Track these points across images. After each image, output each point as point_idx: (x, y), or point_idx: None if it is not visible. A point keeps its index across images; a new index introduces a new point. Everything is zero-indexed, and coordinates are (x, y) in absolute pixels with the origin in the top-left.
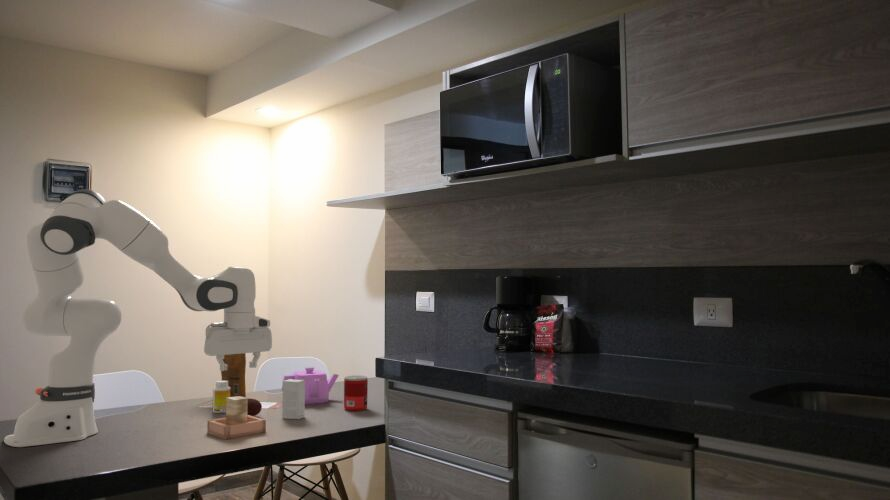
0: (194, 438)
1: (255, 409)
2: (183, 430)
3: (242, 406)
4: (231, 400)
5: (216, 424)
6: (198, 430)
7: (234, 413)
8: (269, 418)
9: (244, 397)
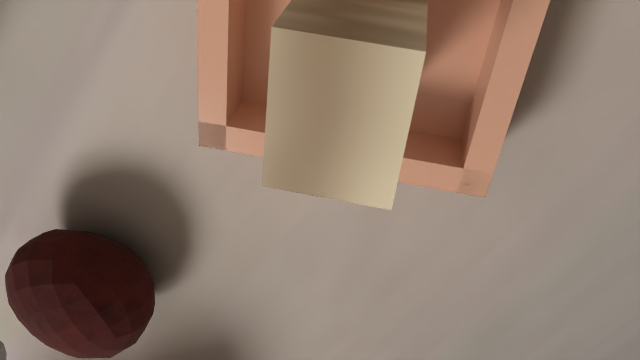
0: (631, 105)
1: (69, 240)
2: (505, 292)
3: (343, 11)
4: (410, 116)
5: (525, 73)
6: (461, 237)
7: (426, 11)
8: (30, 156)
9: (272, 85)
